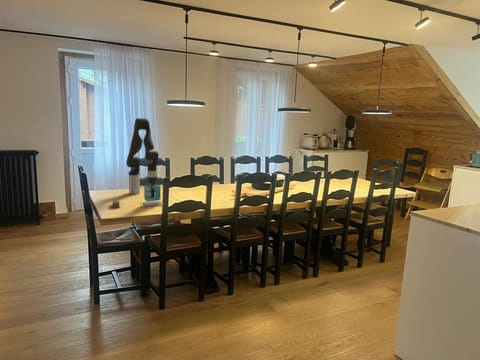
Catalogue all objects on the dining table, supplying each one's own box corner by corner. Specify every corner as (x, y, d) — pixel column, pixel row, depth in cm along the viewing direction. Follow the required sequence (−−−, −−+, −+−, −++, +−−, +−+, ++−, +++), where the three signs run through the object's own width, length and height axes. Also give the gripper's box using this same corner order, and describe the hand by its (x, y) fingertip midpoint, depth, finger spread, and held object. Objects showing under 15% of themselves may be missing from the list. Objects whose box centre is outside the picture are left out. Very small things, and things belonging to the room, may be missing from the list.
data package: (146, 201, 291) (145, 186, 289) (144, 200, 294) (144, 185, 292) (160, 200, 297) (160, 185, 295) (158, 199, 301) (158, 184, 299)
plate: (140, 202, 300) (140, 202, 300) (160, 201, 305) (160, 201, 305) (141, 207, 287) (141, 206, 287) (162, 205, 292) (162, 205, 292)
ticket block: (112, 204, 292) (112, 199, 292) (119, 204, 294) (119, 199, 293) (112, 208, 281) (112, 203, 280) (119, 207, 283) (119, 202, 282)
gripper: (146, 174, 298) (146, 195, 301) (148, 177, 284) (148, 199, 287) (156, 174, 300) (156, 194, 303) (157, 177, 287) (158, 198, 290)
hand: (152, 196), depth 295 cm, fingers closed on data package, 5 cm apart
